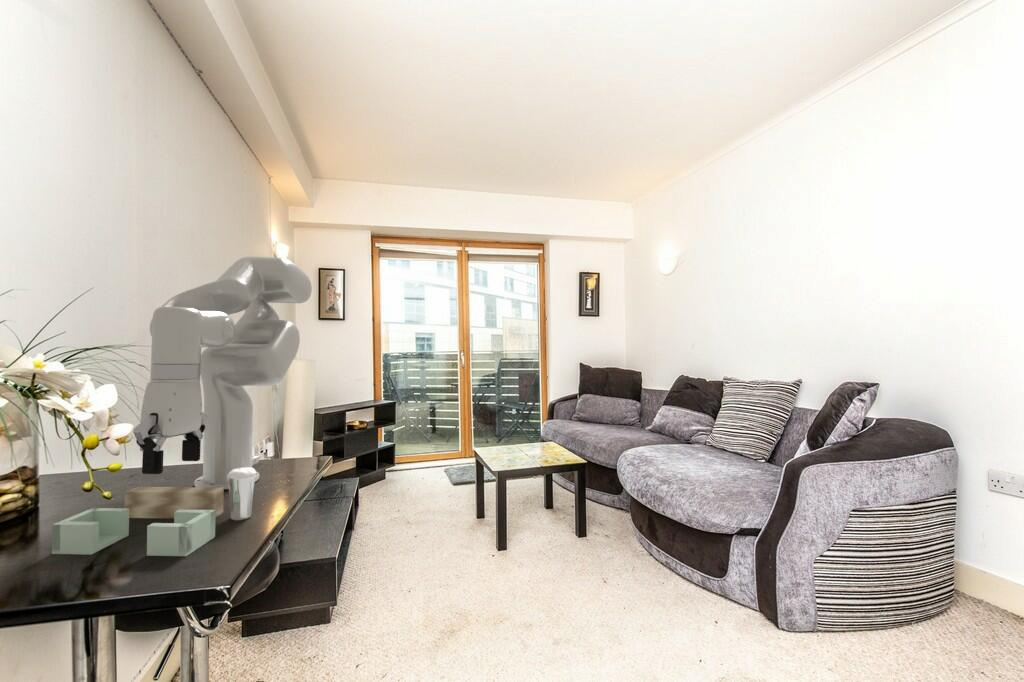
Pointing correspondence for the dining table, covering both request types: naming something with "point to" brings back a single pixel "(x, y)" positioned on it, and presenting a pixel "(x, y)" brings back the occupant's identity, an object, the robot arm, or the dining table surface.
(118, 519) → the endcap
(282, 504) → the dining table surface
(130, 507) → the slat
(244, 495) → the milkshake
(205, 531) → the endcap
